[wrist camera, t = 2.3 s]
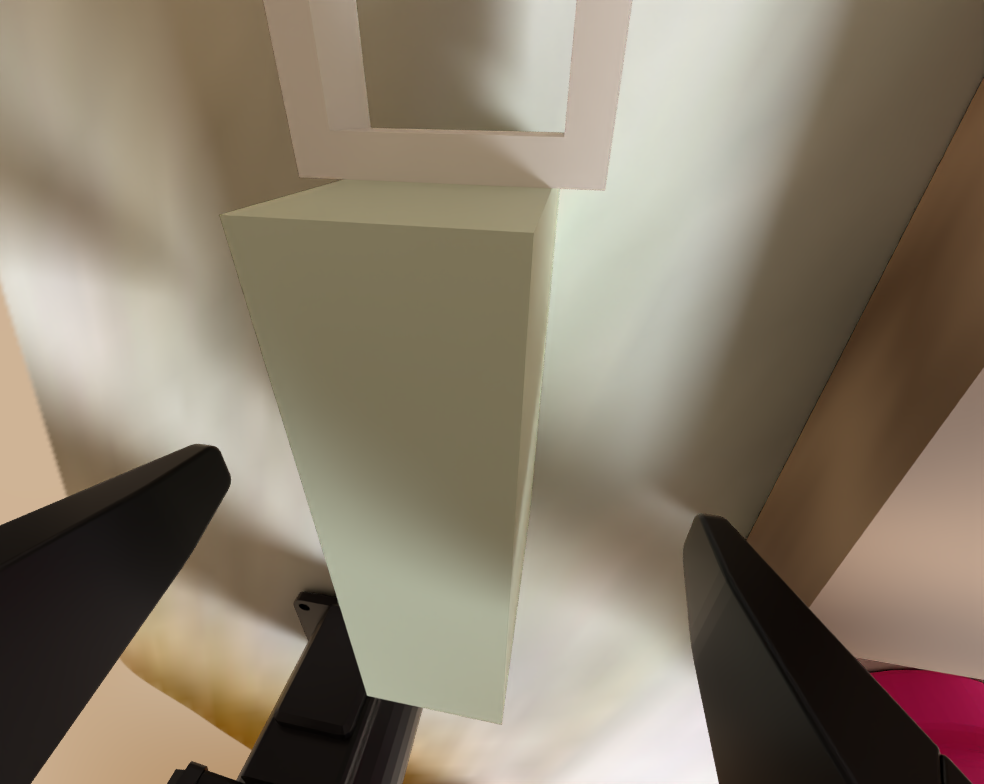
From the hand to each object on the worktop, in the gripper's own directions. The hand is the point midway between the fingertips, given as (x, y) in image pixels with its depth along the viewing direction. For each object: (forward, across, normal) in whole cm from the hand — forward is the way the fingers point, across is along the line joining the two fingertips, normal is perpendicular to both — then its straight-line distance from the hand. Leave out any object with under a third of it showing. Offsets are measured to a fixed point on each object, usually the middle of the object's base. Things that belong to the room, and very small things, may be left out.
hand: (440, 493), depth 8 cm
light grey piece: (+4, 0, -2) cm, 5 cm away
